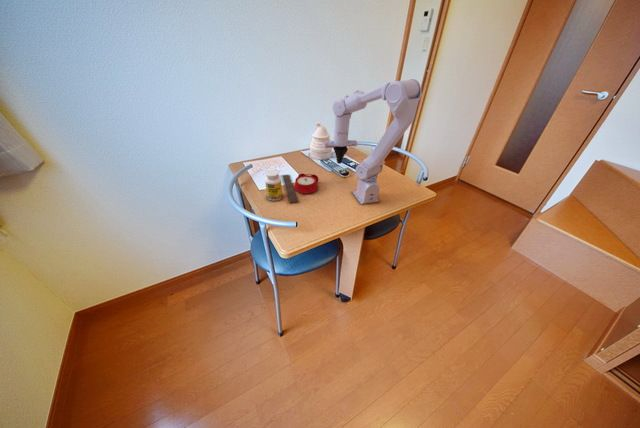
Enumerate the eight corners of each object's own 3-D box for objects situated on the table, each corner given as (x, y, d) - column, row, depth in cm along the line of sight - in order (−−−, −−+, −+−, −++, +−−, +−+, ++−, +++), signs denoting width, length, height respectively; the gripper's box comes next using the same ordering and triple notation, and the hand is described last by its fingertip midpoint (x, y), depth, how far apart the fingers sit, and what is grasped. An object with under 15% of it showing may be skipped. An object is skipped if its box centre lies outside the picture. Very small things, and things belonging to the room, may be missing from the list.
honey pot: (310, 159, 123) (310, 126, 112) (309, 150, 134) (309, 119, 123) (332, 159, 124) (335, 126, 113) (330, 150, 135) (331, 119, 124)
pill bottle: (268, 202, 88) (264, 177, 82) (266, 194, 93) (263, 170, 86) (283, 200, 90) (281, 175, 83) (281, 192, 94) (279, 168, 88)
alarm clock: (290, 187, 91) (297, 164, 100) (292, 197, 96) (299, 175, 105) (315, 189, 90) (320, 166, 100) (315, 199, 95) (320, 177, 104)
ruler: (297, 202, 89) (297, 201, 88) (290, 203, 88) (290, 202, 88) (288, 175, 107) (288, 174, 107) (282, 176, 106) (282, 175, 106)
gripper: (354, 127, 94) (350, 157, 102) (321, 129, 91) (320, 160, 99) (360, 132, 89) (356, 164, 97) (326, 134, 86) (325, 167, 94)
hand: (339, 162), depth 98 cm, fingers closed
